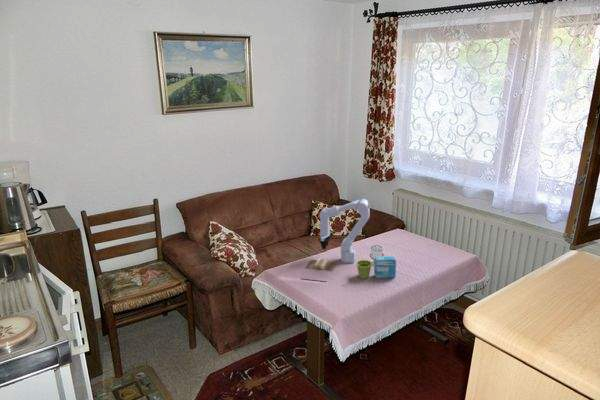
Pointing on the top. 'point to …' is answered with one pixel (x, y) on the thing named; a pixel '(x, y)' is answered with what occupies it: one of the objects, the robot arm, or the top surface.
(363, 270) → the plant pot
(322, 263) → the birch block
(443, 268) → the top surface
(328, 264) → the walnut board
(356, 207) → the robot arm
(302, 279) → the charcoal mat
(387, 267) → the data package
